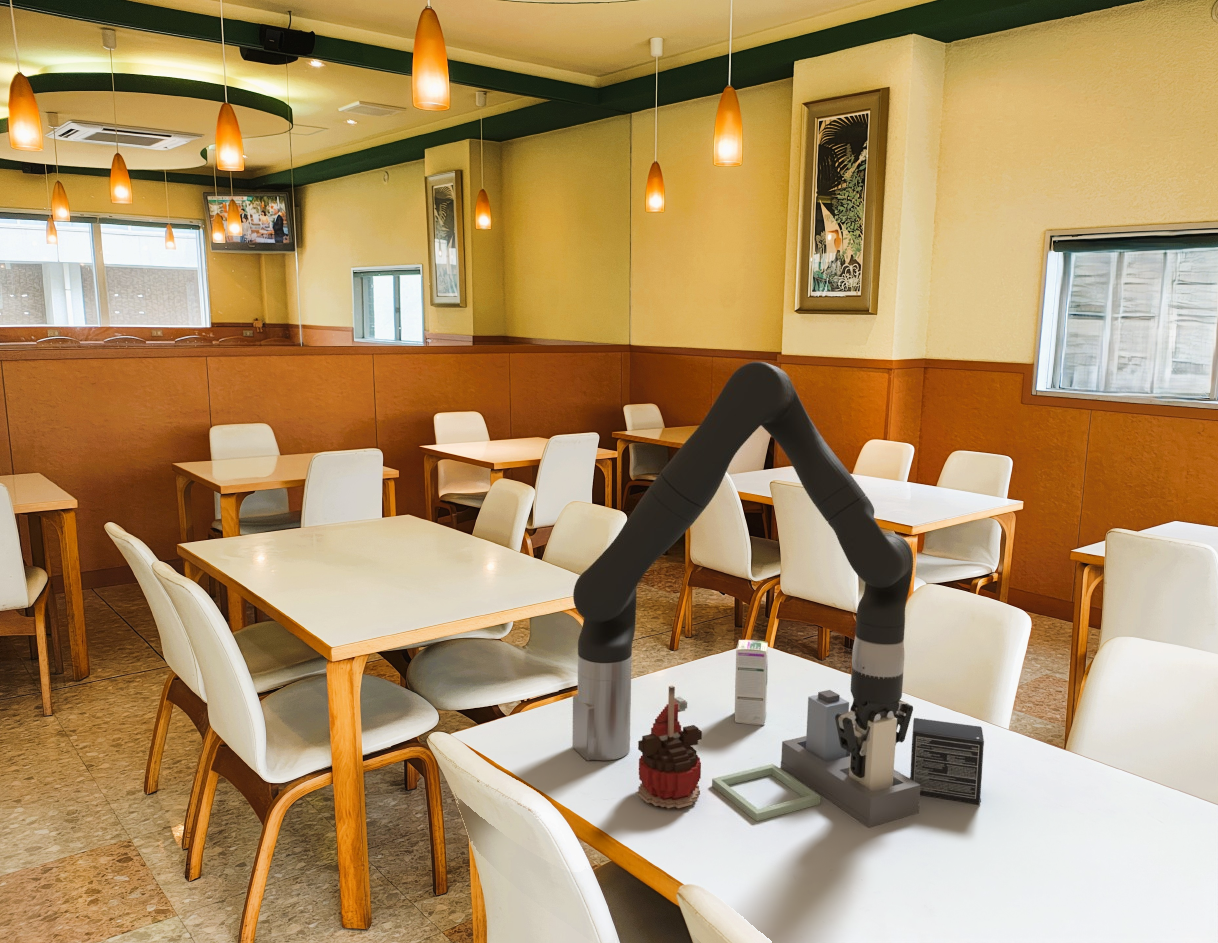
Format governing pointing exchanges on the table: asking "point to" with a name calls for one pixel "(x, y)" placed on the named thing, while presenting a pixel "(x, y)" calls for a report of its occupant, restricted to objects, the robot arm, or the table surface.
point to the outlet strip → (850, 786)
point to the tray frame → (771, 811)
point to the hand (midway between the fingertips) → (871, 771)
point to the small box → (947, 760)
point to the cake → (670, 759)
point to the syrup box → (751, 682)
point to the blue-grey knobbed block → (825, 725)
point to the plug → (878, 754)
